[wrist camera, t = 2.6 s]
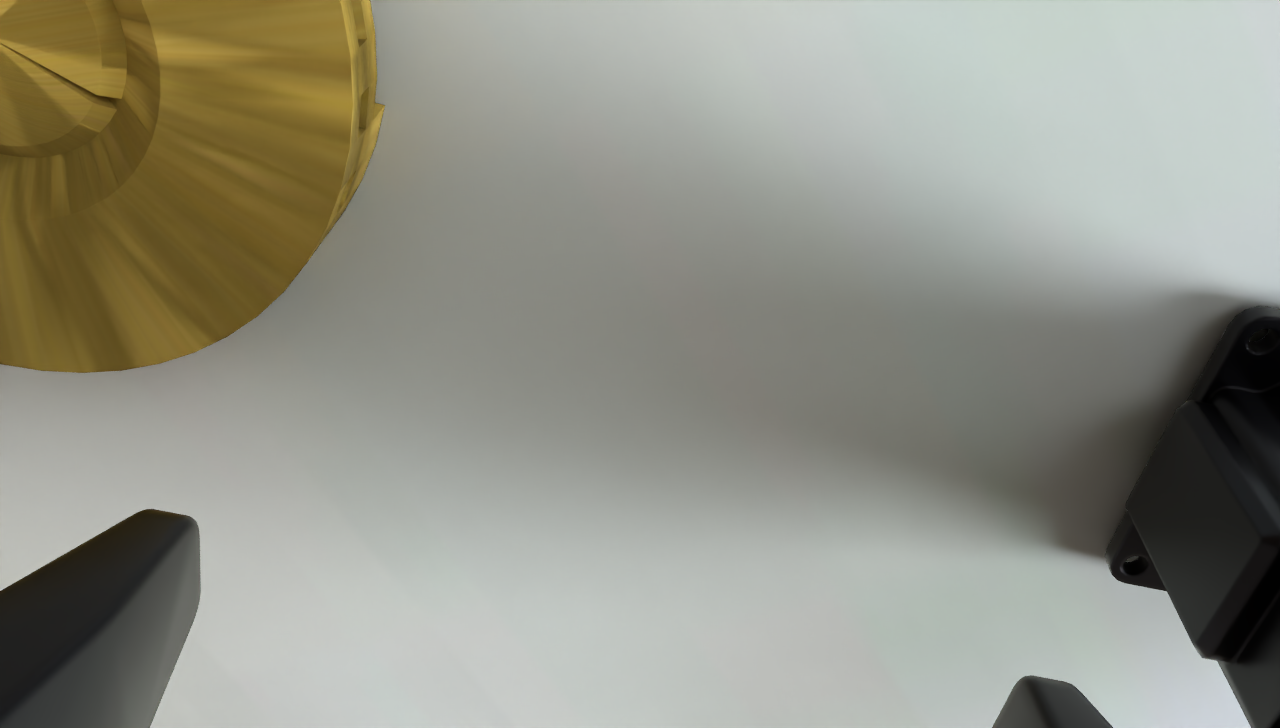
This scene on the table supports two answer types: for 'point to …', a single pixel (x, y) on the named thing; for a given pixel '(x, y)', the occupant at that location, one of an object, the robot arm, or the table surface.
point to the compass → (170, 167)
